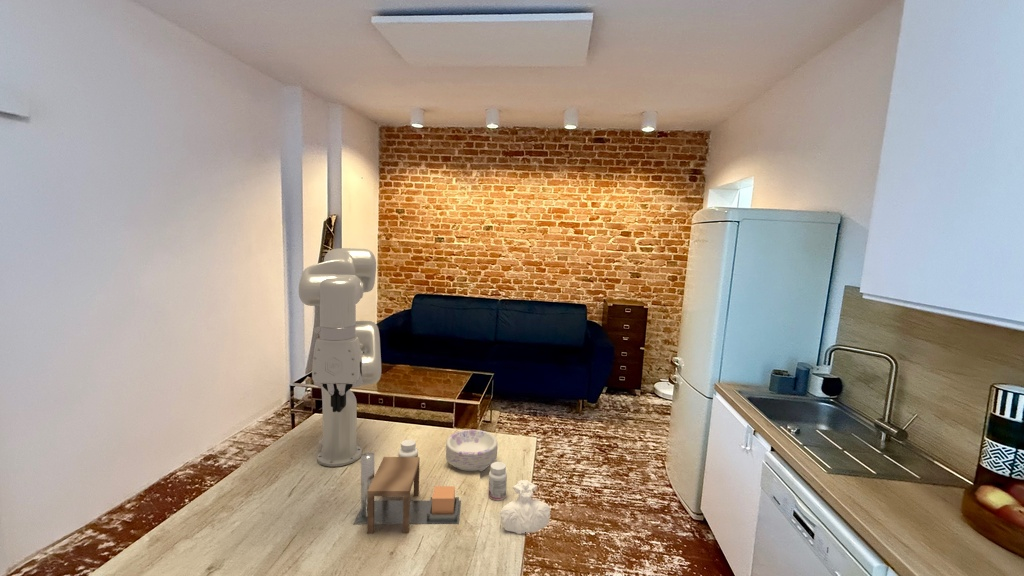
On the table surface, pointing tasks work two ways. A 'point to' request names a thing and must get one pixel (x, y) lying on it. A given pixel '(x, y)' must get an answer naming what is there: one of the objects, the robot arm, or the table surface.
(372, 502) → the wooden table
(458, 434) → the paper bowls
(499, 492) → the pill bottle
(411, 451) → the supplement bottle
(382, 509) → the metal rod stand
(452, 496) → the block
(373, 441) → the table surface
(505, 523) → the white lumpy bag
